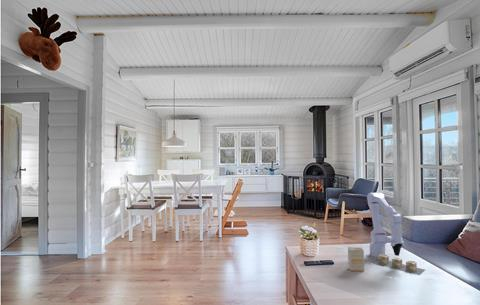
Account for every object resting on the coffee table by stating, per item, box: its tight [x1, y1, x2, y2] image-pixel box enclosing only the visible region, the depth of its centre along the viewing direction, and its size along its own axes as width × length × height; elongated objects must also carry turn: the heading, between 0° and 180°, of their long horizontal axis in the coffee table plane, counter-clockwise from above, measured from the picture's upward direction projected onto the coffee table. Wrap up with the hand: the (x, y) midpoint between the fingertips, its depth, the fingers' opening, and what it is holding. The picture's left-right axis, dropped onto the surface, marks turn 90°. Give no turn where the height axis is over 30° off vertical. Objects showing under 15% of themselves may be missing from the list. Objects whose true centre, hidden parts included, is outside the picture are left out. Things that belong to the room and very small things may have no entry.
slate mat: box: [370, 257, 426, 276], centre depth 180 cm, size 28×12×1 cm, turn 42°
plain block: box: [391, 256, 403, 268], centre depth 180 cm, size 4×4×4 cm
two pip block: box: [378, 254, 390, 264], centre depth 186 cm, size 4×4×5 cm
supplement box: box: [347, 246, 365, 272], centre depth 176 cm, size 8×5×13 cm, turn 84°
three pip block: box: [405, 259, 418, 271], centre depth 174 cm, size 4×4×5 cm
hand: (396, 255), depth 180 cm, fingers closed
